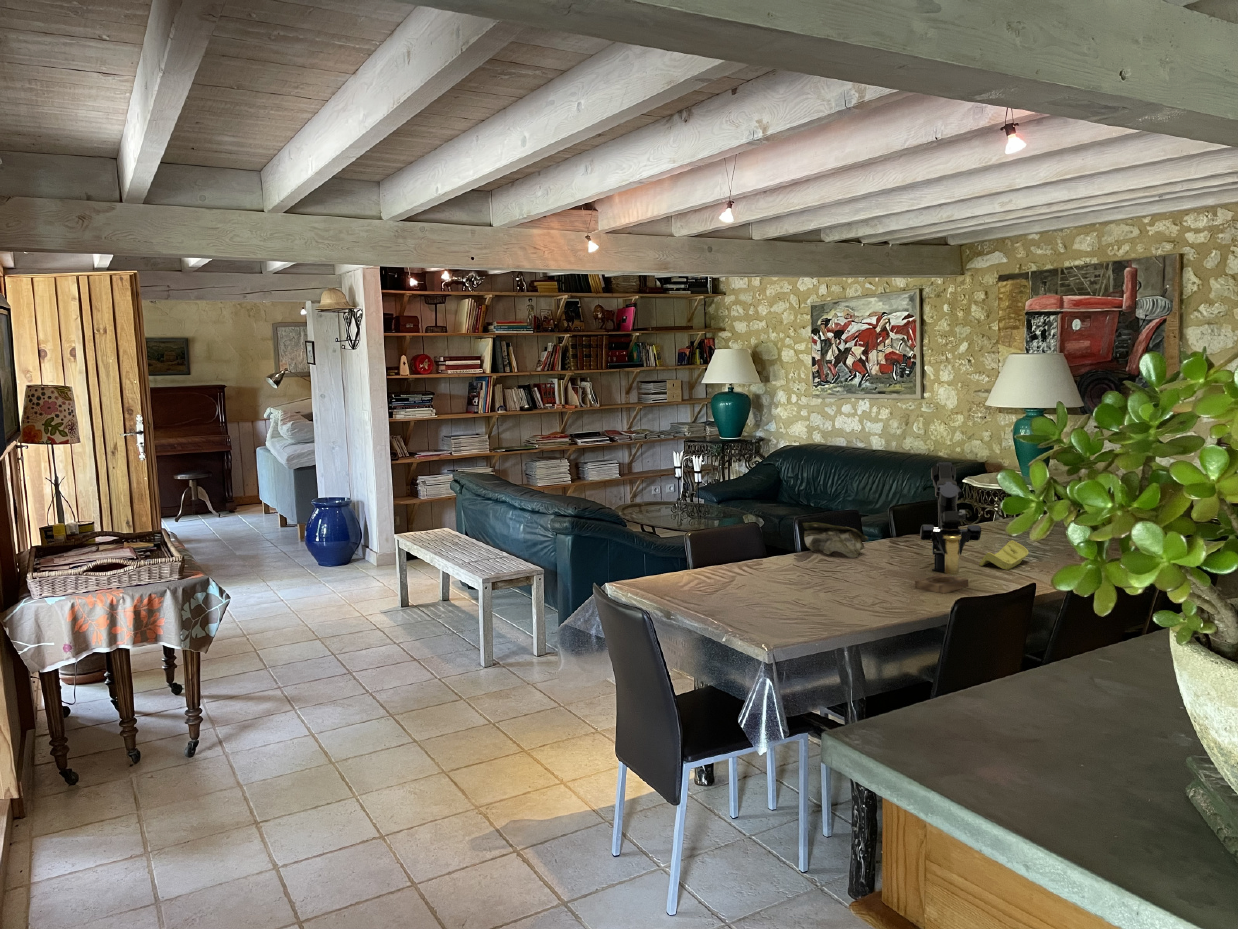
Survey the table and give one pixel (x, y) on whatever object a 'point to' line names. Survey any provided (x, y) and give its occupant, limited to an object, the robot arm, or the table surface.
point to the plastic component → (1006, 556)
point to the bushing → (952, 553)
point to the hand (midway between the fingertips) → (952, 554)
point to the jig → (941, 583)
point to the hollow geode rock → (833, 539)
